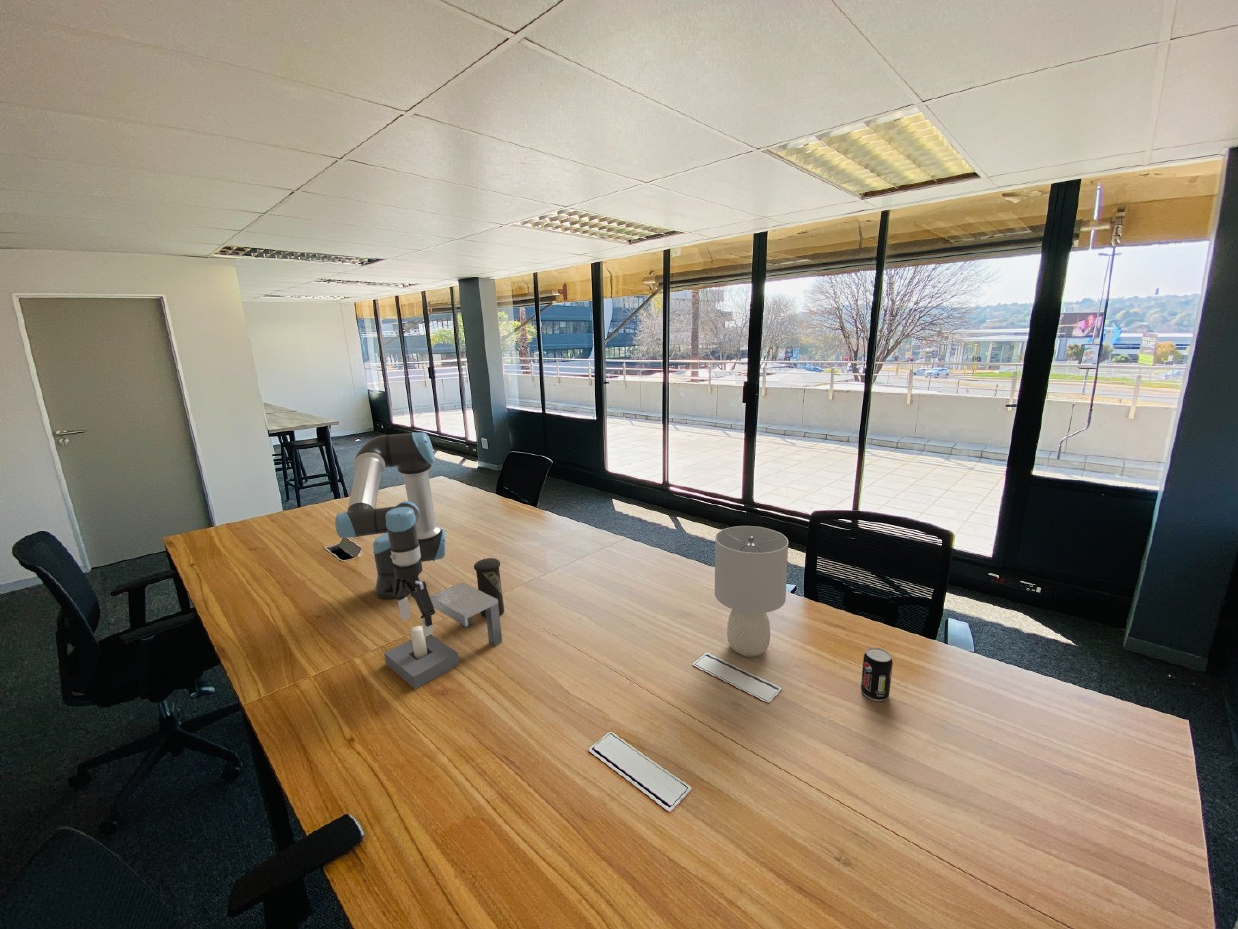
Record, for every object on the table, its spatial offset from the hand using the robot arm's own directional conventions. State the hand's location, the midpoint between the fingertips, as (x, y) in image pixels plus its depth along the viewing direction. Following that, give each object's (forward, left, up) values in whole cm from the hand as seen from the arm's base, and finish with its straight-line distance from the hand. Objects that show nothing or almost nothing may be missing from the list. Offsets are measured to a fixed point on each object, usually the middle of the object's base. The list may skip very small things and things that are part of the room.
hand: (417, 626), depth 146 cm
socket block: (0, 0, -13) cm, 13 cm away
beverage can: (+109, +68, -13) cm, 129 cm away
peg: (0, 0, -13) cm, 13 cm away
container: (-8, +31, -13) cm, 34 cm away
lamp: (+74, +66, -13) cm, 100 cm away
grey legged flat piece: (0, +16, -13) cm, 20 cm away
